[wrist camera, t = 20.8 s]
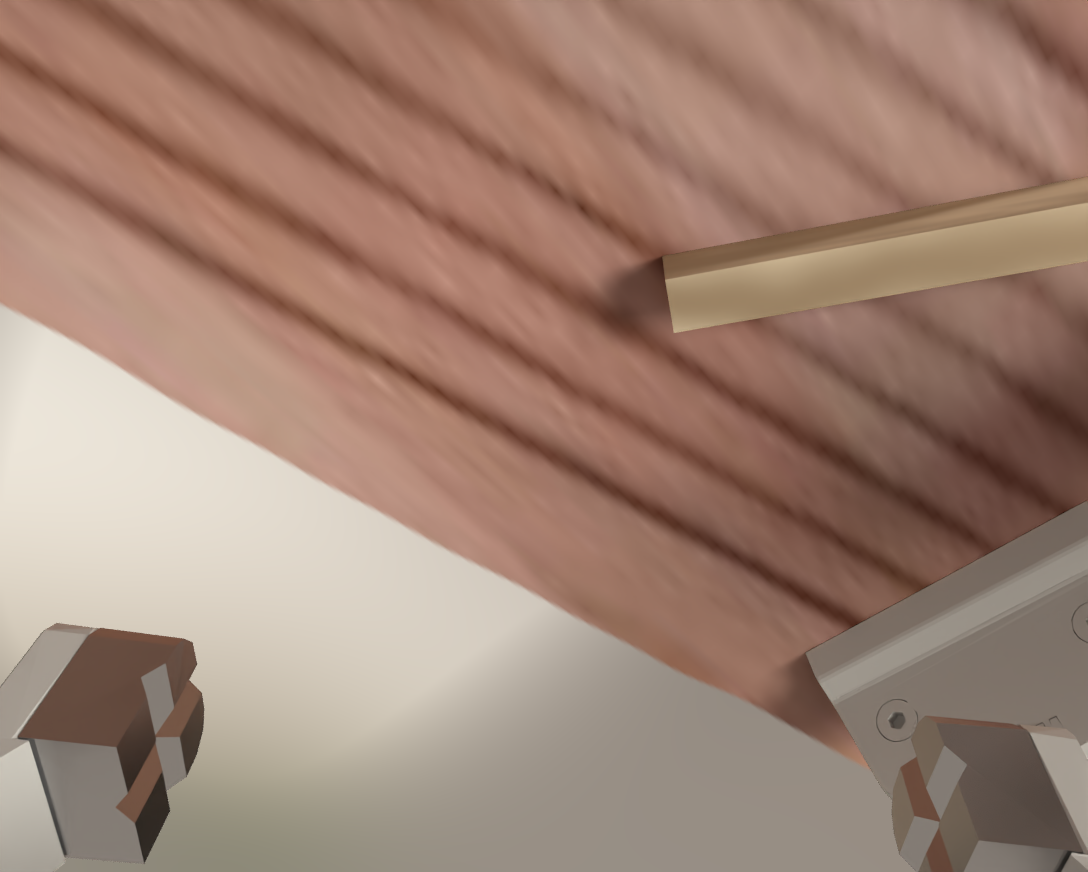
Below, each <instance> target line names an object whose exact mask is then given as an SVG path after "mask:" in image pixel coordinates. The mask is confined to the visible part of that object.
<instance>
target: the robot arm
mask: <svg viewBox="0 0 1088 872" xmlns="http://www.w3.org/2000/svg"><path fill="white" fill-rule="evenodd" d="M196 665H197V661H196V656H195V652H194V647H193V643H192V642H190V641H188V640H186V639H182V638H174V637H166V636H159V635H150V634H143V633H136V632H127V631H120V630H113V629H105V628H99V629H98V628H90V627H82V626H75V625H67V624H60V623H56V624H54V625H53V626H51V627H49V628H47V629H46V630H44V631H43V632H42V633H41V634H40V636H39V637H38V638H37V640H36V641H35V642H34V643H33V645H32V646H31V647H30V649H29V650H28V651H27V653H26V654H25V655H24V656H23V658H22V659H21V661H20V662H19V663H18V664H17V666H16V667H15V668H14V670H13V671H12V672H11V673H10V675H9V676H8V677H7V679H6V680H5V681H4V683H3V684H2V685H1V686H0V872H54V871H55V870H57V869H58V868H59V867H60V866H61V865H63V864H64V863H65V857H68V858H79V859H92V860H103V861H115V862H116V861H117V862H129V863H140V864H144V863H145V861H146V859H147V857H148V855H149V853H150V851H151V849H152V847H153V845H154V843H155V841H156V839H157V837H158V835H159V833H160V831H161V829H162V827H163V825H164V823H165V820H166V818H167V816H168V814H169V812H170V807H169V802H168V797H167V792H166V791H167V790H168V789H170V788H171V787H172V786H174V785H175V784H177V783H178V782H180V781H181V780H182V779H184V778H185V777H187V775H188V773H189V770H190V768H191V766H192V764H193V762H194V759H195V757H196V755H197V752H198V748H199V744H200V740H201V736H202V732H203V724H204V704H203V698H202V693H201V692H200V691H199V690H198V689H197V688H196V687H195V686H194V685H193V684H192V683H191V682H190V681H189V679H190V677H191V675H192V673H193V671H194V669H195V667H196ZM911 741H912V744H913V747H914V751H915V754H916V757H915V758H914V759H912V760H911V761H909V762H908V763H906V764H904V765H903V766H901V767H900V770H899V773H898V776H897V779H896V782H895V785H894V788H893V799H892V821H893V829H894V835H895V839H896V843H897V847H898V851H899V854H900V855H901V856H902V857H903V858H904V859H905V861H906V862H907V863H908V864H909V865H910V866H911V867H912V868H913V869H914V870H915V871H916V872H1088V760H1087V758H1086V756H1085V754H1084V752H1083V750H1082V748H1081V746H1080V744H1079V742H1078V740H1077V739H1076V737H1075V736H1074V735H1073V734H1072V733H1071V732H1069V731H1068V730H1067V729H1063V728H1052V727H1042V726H1031V725H1021V724H1019V725H1014V724H1010V723H1000V722H989V721H978V720H968V719H957V718H947V717H936V716H924V717H923V718H922V719H921V720H920V721H919V722H918V723H917V726H916V728H915V731H914V733H913V736H912V738H911Z"/></svg>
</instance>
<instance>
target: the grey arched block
mask: <svg viewBox="0 0 1088 872" xmlns="http://www.w3.org/2000/svg"><path fill="white" fill-rule="evenodd" d="M806 655H807V658H808V660H809V663H810V665H811V668H812V670H813V673H814V675H815V677H816V679H817V681H818V682H819V684H820V685H821V687H822V688H823V690H824V691H825V693H826V694H827V696H828V698H829V699H830V701H831V702H832V704H833V705H834V707H835V709H836V711H837V712H838V714H839V716H840V717H841V719H842V721H843V723H844V724H845V726H846V728H847V730H848V731H849V733H850V735H851V736H852V738H853V740H854V742H855V743H856V745H857V747H858V748H859V750H860V752H861V754H862V755H863V757H864V759H865V760H866V762H867V764H868V766H869V767H870V769H871V771H872V773H873V774H874V776H875V778H876V779H877V781H878V783H879V785H880V786H881V788H882V789H883V790H884V792H885V793H886V794H887V795H888V796H889V797H890V798H891V799H893V788H894V785H895V782H896V779H897V776H898V773H899V770H900V767H901V766H903V765H904V764H906V763H908V762H909V761H911V760H912V759H914V758H915V757H916V754H915V751H914V747H913V744H912V741H911V738H912V736H913V733H914V731H915V728H916V726H917V723H918V722H919V721H920V720H921V719H922V718H923V717H924V716H936V717H947V718H957V719H968V720H978V721H989V722H1000V723H1010V724H1014V725H1019V724H1021V725H1031V726H1042V727H1052V728H1063V729H1067V730H1068V731H1069V732H1071V733H1072V734H1073V735H1074V736H1075V737H1076V739H1077V740H1078V742H1079V744H1080V746H1081V748H1082V750H1083V752H1084V754H1085V756H1086V758H1087V760H1088V502H1087V501H1085V502H1083V503H1081V504H1080V505H1078V506H1076V507H1074V508H1072V509H1070V510H1068V511H1067V512H1065V513H1063V514H1061V515H1059V516H1057V517H1055V518H1054V519H1052V520H1050V521H1048V522H1046V523H1044V524H1043V525H1041V526H1039V527H1037V528H1035V529H1033V530H1031V531H1030V532H1028V533H1026V534H1024V535H1022V536H1020V537H1019V538H1017V539H1015V540H1013V541H1011V542H1009V543H1007V544H1006V545H1004V546H1002V547H1000V548H998V549H996V550H994V551H993V552H991V553H989V554H987V555H985V556H983V557H982V558H980V559H978V560H976V561H974V562H972V563H970V564H969V565H967V566H965V567H963V568H961V569H959V570H957V571H956V572H954V573H952V574H950V575H948V576H946V577H945V578H943V579H941V580H939V581H937V582H935V583H933V584H932V585H930V586H928V587H926V588H924V589H922V590H921V591H919V592H917V593H915V594H913V595H911V596H909V597H908V598H906V599H904V600H902V601H900V602H898V603H896V604H895V605H893V606H891V607H889V608H887V609H885V610H884V611H882V612H880V613H878V614H876V615H874V616H872V617H871V618H869V619H867V620H865V621H863V622H861V623H860V624H858V625H856V626H854V627H852V628H850V629H848V630H847V631H845V632H843V633H841V634H839V635H837V636H835V637H834V638H832V639H830V640H828V641H826V642H824V643H823V644H821V645H819V646H817V647H815V648H813V649H811V650H810V651H808V652H806Z"/></svg>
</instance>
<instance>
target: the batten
mask: <svg viewBox="0 0 1088 872" xmlns="http://www.w3.org/2000/svg"><path fill="white" fill-rule="evenodd" d="M662 258H663V267H664V275H665V283H666V288H667V294H668V300H669V306H670V312H671V318H672V324H673V330H674V333H677V332H682V331H688V330H694V329H700V328H705V327H711V326H717V325H723V324H729V323H734V322H740V321H746V320H752V319H757V318H763V317H769V316H775V315H780V314H786V313H792V312H798V311H804V310H809V309H815V308H821V307H827V306H832V305H838V304H844V303H850V302H855V301H861V300H867V299H873V298H879V297H884V296H890V295H896V294H902V293H907V292H913V291H919V290H925V289H930V288H936V287H942V286H948V285H953V284H959V283H965V282H971V281H977V280H982V279H988V278H994V277H1000V276H1005V275H1011V274H1017V273H1023V272H1028V271H1034V270H1040V269H1046V268H1052V267H1057V266H1063V265H1069V264H1075V263H1080V262H1086V261H1088V177H1083V178H1078V179H1073V180H1067V181H1062V182H1057V183H1051V184H1046V185H1040V186H1035V187H1030V188H1024V189H1019V190H1014V191H1008V192H1003V193H998V194H992V195H987V196H982V197H976V198H971V199H966V200H960V201H955V202H949V203H944V204H939V205H933V206H928V207H923V208H917V209H912V210H907V211H901V212H896V213H891V214H885V215H880V216H875V217H869V218H864V219H859V220H853V221H848V222H842V223H837V224H832V225H826V226H821V227H816V228H810V229H805V230H800V231H794V232H789V233H784V234H778V235H773V236H768V237H762V238H757V239H751V240H746V241H741V242H735V243H730V244H725V245H719V246H714V247H709V248H703V249H698V250H693V251H687V252H682V253H677V254H671V255H666V256H662Z"/></svg>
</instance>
